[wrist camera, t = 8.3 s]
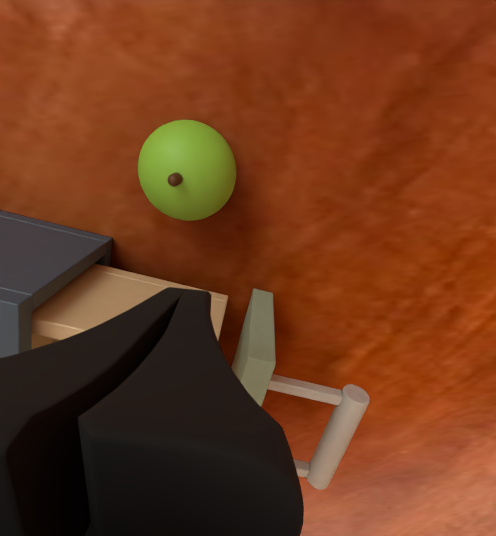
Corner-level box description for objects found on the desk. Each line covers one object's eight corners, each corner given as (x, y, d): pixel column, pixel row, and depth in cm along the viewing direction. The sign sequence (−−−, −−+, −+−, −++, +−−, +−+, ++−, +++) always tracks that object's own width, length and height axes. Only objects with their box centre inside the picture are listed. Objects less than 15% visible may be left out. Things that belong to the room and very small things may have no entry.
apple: (254, 187, 19) (249, 208, 14) (182, 222, 20) (154, 254, 15) (214, 103, 17) (193, 94, 12) (139, 146, 18) (91, 153, 13)
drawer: (365, 315, 20) (408, 394, 14) (307, 448, 25) (321, 553, 19) (52, 239, 20) (-44, 289, 14) (48, 391, 24) (-26, 481, 18)
